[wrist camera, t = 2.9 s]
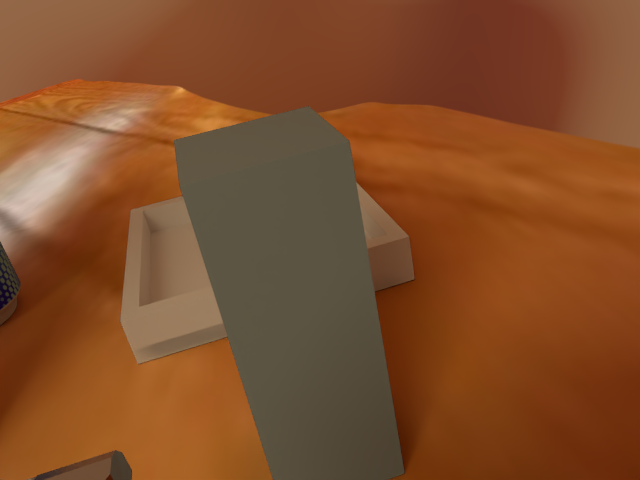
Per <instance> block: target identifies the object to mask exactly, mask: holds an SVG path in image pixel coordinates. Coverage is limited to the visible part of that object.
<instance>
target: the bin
mask: <svg viewBox="0 0 640 480" xmlns="http://www.w3.org/2000/svg"><path fill="white" fill-rule="evenodd" d="M356 184H357V190H358V196H359V202H360V208H361V214H362V220H363V226H364V232H365V238H366V244H367V250H368V256H369V262H370V268H371V274H372V280H373V286H374V292H375V291H378V290H381V289H385V288H388V287H391V286H394V285H398V284H401V283H404V282H407V281H411V280H414V279H415V278H414V270H413V262H412V254H411V246H410V239H409V236H408V235H407V234H406V233H405V232H404V231H403V229H402V228H401V227H400V226H399V225H398V224H397V223H396V222H395V221H394V220H393V219H392V218H391V217H390V216H389V215H388V214H387V213H386V212H385V211H384V210H383V209H382V208H381V207H380V206H379V205H378V204H377V203H376V202H375V201H374V200H373V199H372V198H371V197H370V196H369V195H368V194H367V193H366V191H365V190H364V189H363V188H362V187H361V186H360V185H359V184H358V183H357V182H356ZM120 322H121V325H122V327H123V329H124V332H125V334H126V337H127V339H128V341H129V344H130V346H131V349H132V351H133V353H134V356H135V358H136V361H137V363H138V364H140V363H143V362H147V361H150V360H153V359H156V358H160V357H163V356H166V355H169V354H173V353H176V352H179V351H182V350H186V349H189V348H192V347H195V346H199V345H202V344H205V343H209V342H212V341H215V340H218V339H222V338H225V337H228V336H227V333H226V330H225V327H224V324H223V321H222V317H221V314H220V311H219V308H218V305H217V302H216V299H215V295H214V292H213V289H212V286H211V283H210V280H209V277H208V273H207V270H206V267H205V264H204V261H203V258H202V255H201V252H200V248H199V245H198V242H197V239H196V236H195V233H194V230H193V226H192V223H191V220H190V217H189V214H188V211H187V208H186V204H185V201H184V198H183V196H180V197H177V198H173V199H169V200H165V201H162V202H158V203H154V204H150V205H147V206H143V207H139V208H135V209H132V210H131V212H130V223H129V233H128V244H127V255H126V265H125V276H124V286H123V297H122V307H121V318H120Z"/></svg>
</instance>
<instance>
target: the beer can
mask: <svg viewBox="0 0 640 480" xmlns="http://www.w3.org/2000/svg"><path fill="white" fill-rule="evenodd" d="M20 287H21V284H20V280H19V278H18V276H17V274H16V272H15V270H14V268H13V266H12V264H11V262H10V260H9V258H8V256H7V254H6V252H5V250H4V248H3V246H2V244H1V242H0V325H2V324H3V323H4V322H5V321H6V320H7V319H8V318H9V317H10V316H11V315H12V314H13V312H14V311H15V309H16V306H17V296H18V293H19V291H20Z"/></svg>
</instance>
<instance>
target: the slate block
mask: <svg viewBox="0 0 640 480" xmlns="http://www.w3.org/2000/svg"><path fill="white" fill-rule="evenodd" d="M174 145H175V153H176V161H177V169H178V177H179V185H180V189H181V192H182V195H183V198H184V201H185V204H186V208H187V211H188V214H189V217H190V220H191V223H192V226H193V230H194V233H195V236H196V239H197V242H198V245H199V248H200V252H201V255H202V258H203V261H204V264H205V267H206V270H207V273H208V277H209V280H210V283H211V286H212V289H213V292H214V295H215V299H216V302H217V305H218V308H219V311H220V314H221V317H222V321H223V324H224V327H225V330H226V333H227V336H228V339H229V343H230V346H231V349H232V352H233V355H234V358H235V361H236V365H237V368H238V371H239V374H240V377H241V380H242V383H243V386H244V390H245V393H246V396H247V399H248V402H249V405H250V408H251V412H252V415H253V418H254V421H255V424H256V427H257V430H258V434H259V437H260V440H261V443H262V446H263V449H264V452H265V456H266V459H267V462H268V465H269V468H270V471H271V474H272V478H273V480H388V479H390V478H393V477H396V476H399V475H402V474H404V473H405V472H404V466H403V460H402V454H401V448H400V442H399V436H398V430H397V424H396V418H395V412H394V406H393V400H392V394H391V388H390V382H389V376H388V370H387V364H386V358H385V352H384V346H383V340H382V334H381V328H380V322H379V316H378V310H377V304H376V298H375V292H374V286H373V280H372V274H371V268H370V262H369V256H368V250H367V244H366V238H365V232H364V226H363V220H362V214H361V208H360V202H359V196H358V190H357V184H356V178H355V172H354V166H353V160H352V154H351V148H350V142H349V140H348V139H347V138H345V137H344V136H343V135H342V134H341V133H340V132H338V131H337V130H336V129H335V128H334V127H333V126H331V125H330V124H329V123H328V122H327V121H325V120H324V119H323V118H322V117H321V116H320V115H318V114H317V113H316V112H315V111H314V110H312V109H311V108H310V107H309V106H308V107H304V108H299V109H296V110H292V111H288V112H284V113H280V114H276V115H272V116H268V117H264V118H260V119H256V120H252V121H248V122H244V123H240V124H236V125H232V126H228V127H224V128H220V129H216V130H212V131H208V132H204V133H200V134H196V135H192V136H188V137H184V138H180V139H176V140H174Z"/></svg>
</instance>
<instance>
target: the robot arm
mask: <svg viewBox="0 0 640 480" xmlns="http://www.w3.org/2000/svg"><path fill="white" fill-rule="evenodd" d="M27 480H132V469H131V468H130V466H129V464H128V462H127V460H126V459H125V457H124V455H123V453H122V452H119V451H116V450H115V451H112V452H109V453H105V454H102V455H99V456H96V457H93V458H90V459H87V460H84V461H81V462H78V463H74V464H71V465H68V466H65V467H62V468H59V469H56V470H53V471H50V472H47V473H43V474H40V475H37V476H36V477H34V478H30V479H27Z"/></svg>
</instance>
